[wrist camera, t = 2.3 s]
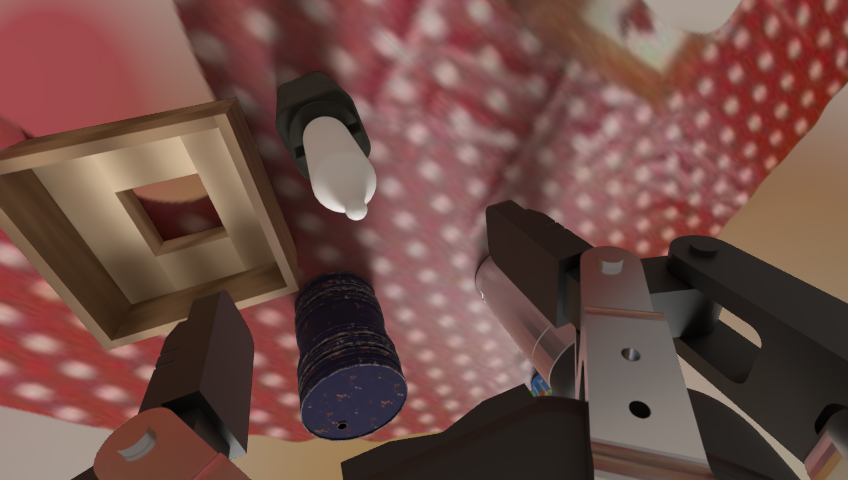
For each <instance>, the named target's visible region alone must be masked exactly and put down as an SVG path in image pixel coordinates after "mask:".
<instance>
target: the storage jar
mask: <svg viewBox="0 0 848 480" xmlns="http://www.w3.org/2000/svg"><path fill="white" fill-rule="evenodd" d="M295 313H296V316H295V332H296V338H297V345H298V347H299V350H300V359H299V363H298V369H297V376H298V394H299V398H300V415H301V421H302V423H303V425H304V427H305V428H306V430H307V431H308V432H310V433H311V434H312V435H314V436H316V437H318V438H321V439H325V440H330V441H346V440H352V439H357V438H361V437H364V436H367V435H369V434H372V433H374V432H376V431H378V430H379V429H381V428H383V427H384V426H386V425H387V424H388V423H390V422H391V421H392V420H393V419H394V418H395V417H396V416H397V415H398V414H399V412H400V411H401V410H402V408H403V406H404V405H405V402H406V400H407V395H408V388H407V383H406V381H405V378H404V376H403V373H402V369H401V364H400V361H399V358H398V355H397V353H396V350H395V346H394V344H393V342H392V341H391V339H390V338H389V336H388V335H387V334H386V331H385V328H384V318H383V314H382V311H381V307H380V305H379V302H378V300H377V298H376V297H375V294H374V291H373V289H372V287H371V285H370V284H369V282H368V281H367V280H365V279H364V278H363V277H361V276H359V275H357V274H355V273H351V272H344V271H335V272H329V273H326V274H322V275H320V276H318V277H316V278H314V279H313V280H311V281H310V282H309V283H307V284H306V285H305V286H304V287H303V288H302V290H301V291H300V293H299V294H298V297H297V299H296V304H295Z"/></svg>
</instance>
